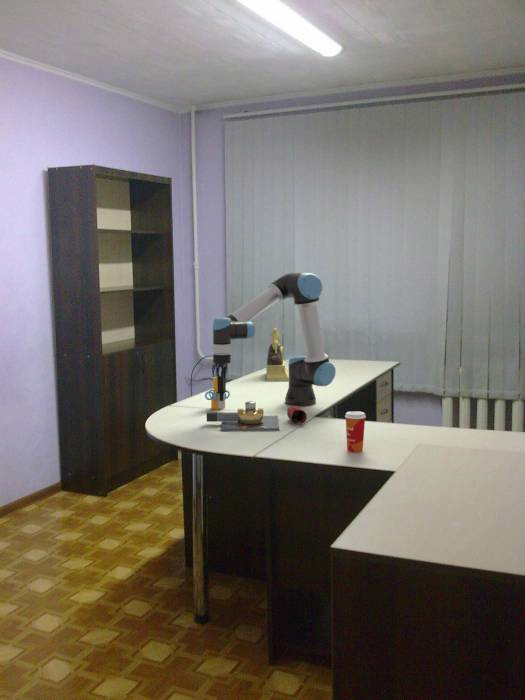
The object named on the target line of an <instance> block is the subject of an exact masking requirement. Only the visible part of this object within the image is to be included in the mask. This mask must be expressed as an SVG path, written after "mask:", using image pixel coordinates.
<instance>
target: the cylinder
mask: <svg viewBox="0 0 525 700" xmlns="http://www.w3.org/2000/svg"><path fill="white" fill-rule="evenodd" d="M225 391H227V393H226V392H225V401H226V400H227V399H228V398H229V397H230V396H231V393H230V391H229V390H227V389H226V390H225ZM217 392H218V382H217V376H213V377H212V389H211V388H210V389H209V390H208V391H206V392H205V395H204V397H205V399H206V400H207V401H210V404H211V405H210V409H211V410H214V411H215V410H217V411H218V410H219V411H220V410H223V409H225V408H218V393H217ZM207 395H208V396H209V398H208V396H207Z"/></svg>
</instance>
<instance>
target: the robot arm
mask: <svg viewBox="0 0 525 700" xmlns="http://www.w3.org/2000/svg"><path fill="white" fill-rule="evenodd" d="M322 283H323V282H322V280H321V279H320V277H319V276H318V275H316V274H314V273H312V272H311V273H310V272H289V273H286V274H284V275H283V276H281V277H279V278H277V279H276V280H274V281H272V282H271V283H270V284H268V286H267V288H266V289H265V290H263V292H261V293H259V294H258V295H256V296H255V297H254V298H252V299H251V300H249V301H248V302H246V303H245V304H244V305H242V306H241V307H239V308H238V309H236V310H235V311H233V312H232V313H231V314H230V315H228V316H226V317H216V318H215V317H214V319H213V322H212V346H211V348H212V352H213V355H212V359H213V360H212V363H214V364H218V366H217V367H216V377H217V382H218V392H217V393H218V408H224V409H225V408H226V400H225V393H226V394H228V392H227V391H225V390H227V389H226V388H227V387H226V386H227V385H226V384H227V371H228V367H227V366H226V364H230V363H231V362H232V361H231V358H232V357H231V356H232V355H231V354H230V353H231V352H232V349H231V348H232V344H231V343H232V340H244V339H245V340H248V339H252V338H253V337H254V336H255V335H256V326H255V324H254V323H253V322H252V320H253V319H255V318H257V317H258V316H260V314H262V313H263V312H264V311H266V310H268V309H269V308H270V307H272V306H274V304H276V303H277V302H278V303H281V302H283V301H285V300H286V299H289V298H293V302H294V305H295V306H296V307H297V309H298V311H299V313H298V314H299V319H300V324H301V330H302V337H303V342H304V343H303V344H304V348H305V355H302V356H301V355H299V356H291V357H290V358H289V359H288V365H287V366H288V376H289V381H288V389H287V392H286V393H285V397H284V400H285V401H284V403H285V404H287V405H289V406H293V405H297V406H310V405H315V404H316V403H317V397H316V394H315V391H314V389H313V387H314V386H316V387H327V386H329V385H331V384H332V382H333V381H334V379H335V377H336V373H337V372H336V367H335V365H334V364H333V363H332V362H330V359H329V355H328V354H327V353H326V352H325V348H324V342H323V335H322V328H321V323H320V322H321V321H320V318H319V310H318V309H319V308H318V303H319V302H320V296H321V295H322V292H323V284H322Z"/></svg>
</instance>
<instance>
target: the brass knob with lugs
mask: <svg viewBox="0 0 525 700" xmlns="http://www.w3.org/2000/svg"><path fill="white" fill-rule="evenodd" d="M263 416H264V408H257V409H256V412H253V411H248V413H247V412H245V409H244V408H237V412H236V411H235V412H234V411H232V412H231V411H230V412H229V411H228V412H227V411H226V412H224V411H223V412H218V411H206V422H208V423H211V422H212V423H214V422H217V423H218V422H223V421H238V423H241V424H260V423H263Z"/></svg>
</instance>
